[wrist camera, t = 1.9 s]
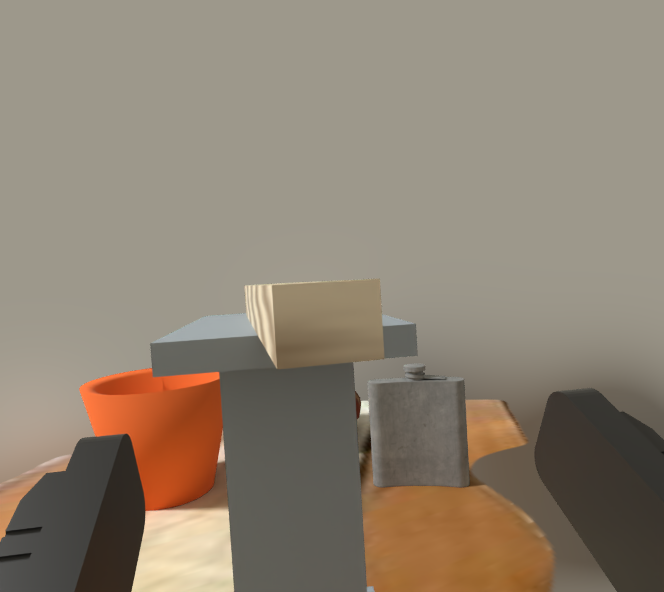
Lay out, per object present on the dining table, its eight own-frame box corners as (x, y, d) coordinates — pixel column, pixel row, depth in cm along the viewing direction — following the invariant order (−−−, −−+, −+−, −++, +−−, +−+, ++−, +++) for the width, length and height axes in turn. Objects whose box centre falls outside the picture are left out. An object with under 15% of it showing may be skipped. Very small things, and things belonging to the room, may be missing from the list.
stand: (443, 817, 32) (415, 323, 31) (189, 867, 30) (150, 343, 29) (369, 588, 56) (353, 306, 54) (226, 608, 54) (205, 316, 53)
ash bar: (384, 359, 18) (379, 278, 18) (277, 369, 18) (271, 285, 17) (286, 312, 50) (284, 283, 50) (246, 315, 49) (244, 285, 49)
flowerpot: (163, 537, 70) (153, 399, 69) (55, 508, 82) (45, 390, 81) (266, 471, 92) (259, 366, 91) (169, 456, 104) (163, 363, 103)
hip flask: (372, 487, 82) (365, 368, 82) (374, 477, 86) (367, 364, 86) (470, 487, 80) (464, 365, 79) (467, 477, 84) (461, 361, 83)
